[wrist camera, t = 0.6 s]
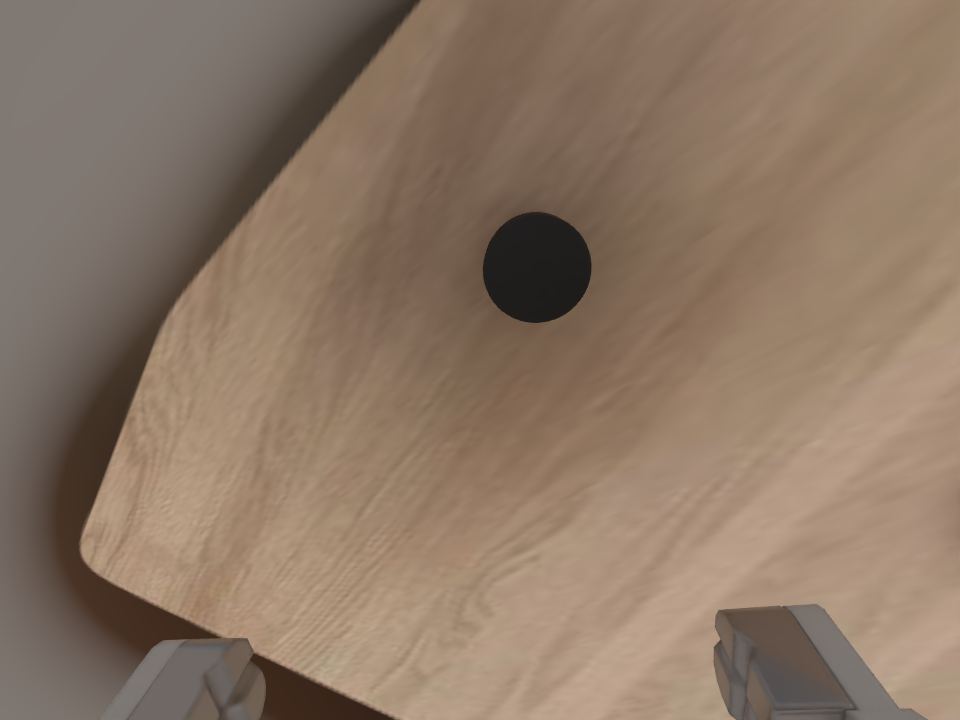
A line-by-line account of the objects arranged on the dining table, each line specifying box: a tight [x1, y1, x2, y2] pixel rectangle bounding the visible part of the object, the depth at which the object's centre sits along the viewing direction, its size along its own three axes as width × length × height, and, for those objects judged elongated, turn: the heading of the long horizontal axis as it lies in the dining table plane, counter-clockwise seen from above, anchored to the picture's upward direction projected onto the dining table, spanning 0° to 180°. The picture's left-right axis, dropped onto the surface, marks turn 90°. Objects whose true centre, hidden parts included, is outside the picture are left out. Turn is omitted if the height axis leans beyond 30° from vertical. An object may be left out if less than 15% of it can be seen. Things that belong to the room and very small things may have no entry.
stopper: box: [483, 212, 591, 323], centre depth 23 cm, size 5×5×6 cm
